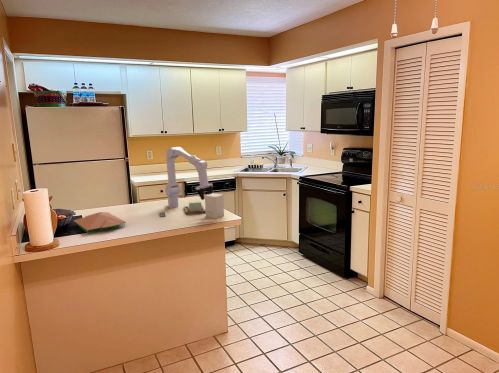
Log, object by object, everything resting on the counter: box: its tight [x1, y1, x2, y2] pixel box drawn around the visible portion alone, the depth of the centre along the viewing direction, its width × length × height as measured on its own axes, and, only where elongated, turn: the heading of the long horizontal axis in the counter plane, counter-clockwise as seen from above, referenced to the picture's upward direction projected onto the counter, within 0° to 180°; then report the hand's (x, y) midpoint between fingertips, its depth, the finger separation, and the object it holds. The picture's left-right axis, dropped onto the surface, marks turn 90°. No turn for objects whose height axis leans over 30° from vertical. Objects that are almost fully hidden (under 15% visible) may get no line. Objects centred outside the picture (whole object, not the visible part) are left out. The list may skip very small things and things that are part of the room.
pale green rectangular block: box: [188, 200, 202, 212], centre depth 251 cm, size 4×8×7 cm, turn 106°
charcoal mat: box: [158, 211, 166, 218], centre depth 250 cm, size 10×14×1 cm
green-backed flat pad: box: [73, 211, 127, 235], centre depth 225 cm, size 23×33×8 cm
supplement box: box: [204, 192, 225, 220], centre depth 241 cm, size 9×9×15 cm
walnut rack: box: [183, 204, 206, 216], centre depth 255 cm, size 17×13×2 cm
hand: (206, 198), depth 248 cm, fingers open, 7 cm apart
